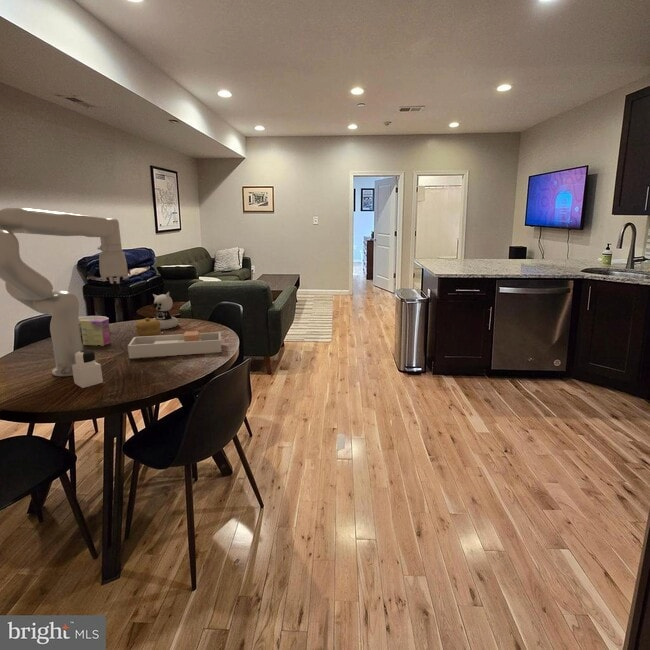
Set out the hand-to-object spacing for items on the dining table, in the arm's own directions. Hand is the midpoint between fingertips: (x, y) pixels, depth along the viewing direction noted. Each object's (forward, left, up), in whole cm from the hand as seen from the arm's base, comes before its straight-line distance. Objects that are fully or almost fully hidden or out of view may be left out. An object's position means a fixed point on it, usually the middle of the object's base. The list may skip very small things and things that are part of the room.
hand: (116, 292), depth 180 cm
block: (-3, -29, -23) cm, 38 cm away
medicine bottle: (-35, +5, -27) cm, 45 cm away
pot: (+25, -7, -27) cm, 38 cm away
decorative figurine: (+45, -12, -27) cm, 54 cm away
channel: (-3, -23, -27) cm, 36 cm away
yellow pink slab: (+37, +25, -27) cm, 52 cm away
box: (+18, +15, -27) cm, 36 cm away
